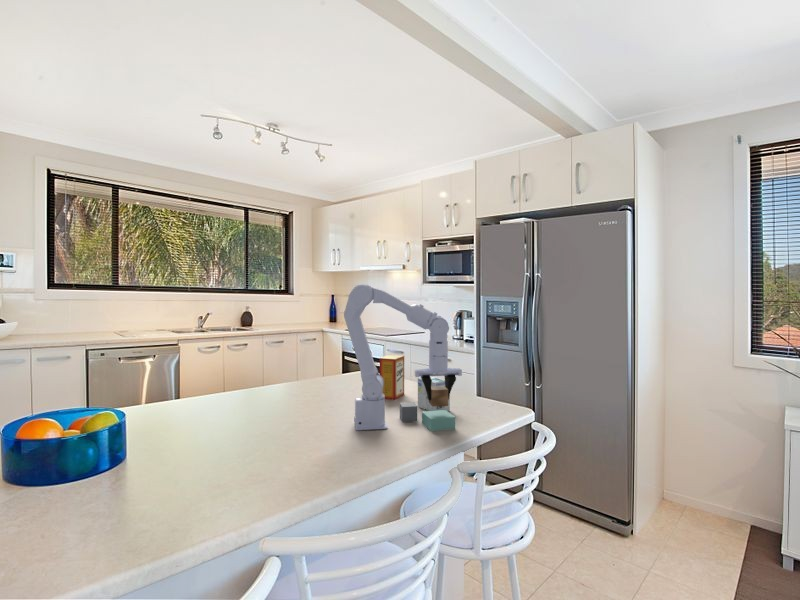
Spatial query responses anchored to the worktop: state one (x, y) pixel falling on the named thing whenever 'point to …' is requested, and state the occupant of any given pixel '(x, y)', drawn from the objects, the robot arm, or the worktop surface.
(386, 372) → the baking soda box
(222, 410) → the worktop surface
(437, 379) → the light bulb box
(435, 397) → the walnut cube
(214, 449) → the worktop surface
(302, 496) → the worktop surface
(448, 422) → the teal base block
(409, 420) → the slate cube
